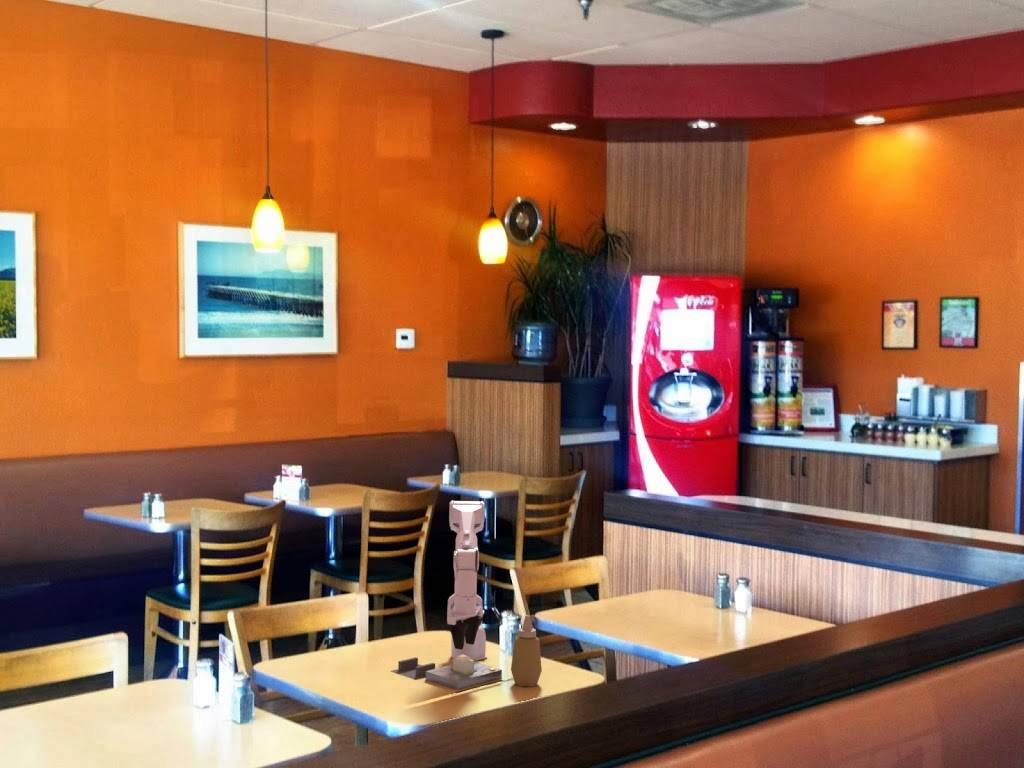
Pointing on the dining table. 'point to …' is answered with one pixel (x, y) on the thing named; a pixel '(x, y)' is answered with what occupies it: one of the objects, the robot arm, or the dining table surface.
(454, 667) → the plug
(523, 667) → the squeeze bottle
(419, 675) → the dark grey holder base
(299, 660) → the dining table surface
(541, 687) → the dining table surface
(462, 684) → the port block
